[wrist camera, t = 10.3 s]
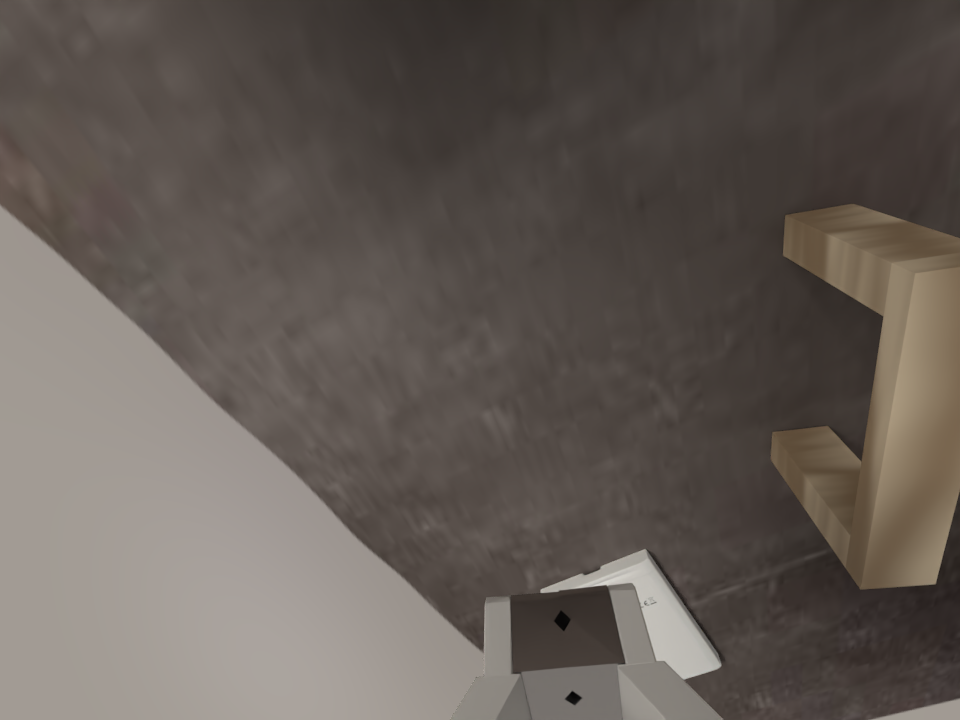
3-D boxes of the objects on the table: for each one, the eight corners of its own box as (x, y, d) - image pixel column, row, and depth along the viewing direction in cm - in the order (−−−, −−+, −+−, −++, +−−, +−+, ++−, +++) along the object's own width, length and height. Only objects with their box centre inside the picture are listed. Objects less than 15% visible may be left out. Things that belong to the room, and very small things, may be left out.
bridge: (770, 459, 32) (860, 589, 23) (785, 214, 25) (915, 273, 17) (824, 454, 31) (935, 584, 23) (852, 203, 25) (1019, 257, 17)
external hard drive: (617, 678, 43) (539, 583, 38) (716, 647, 40) (644, 542, 36) (621, 698, 41) (540, 602, 37) (723, 668, 39) (649, 560, 34)
